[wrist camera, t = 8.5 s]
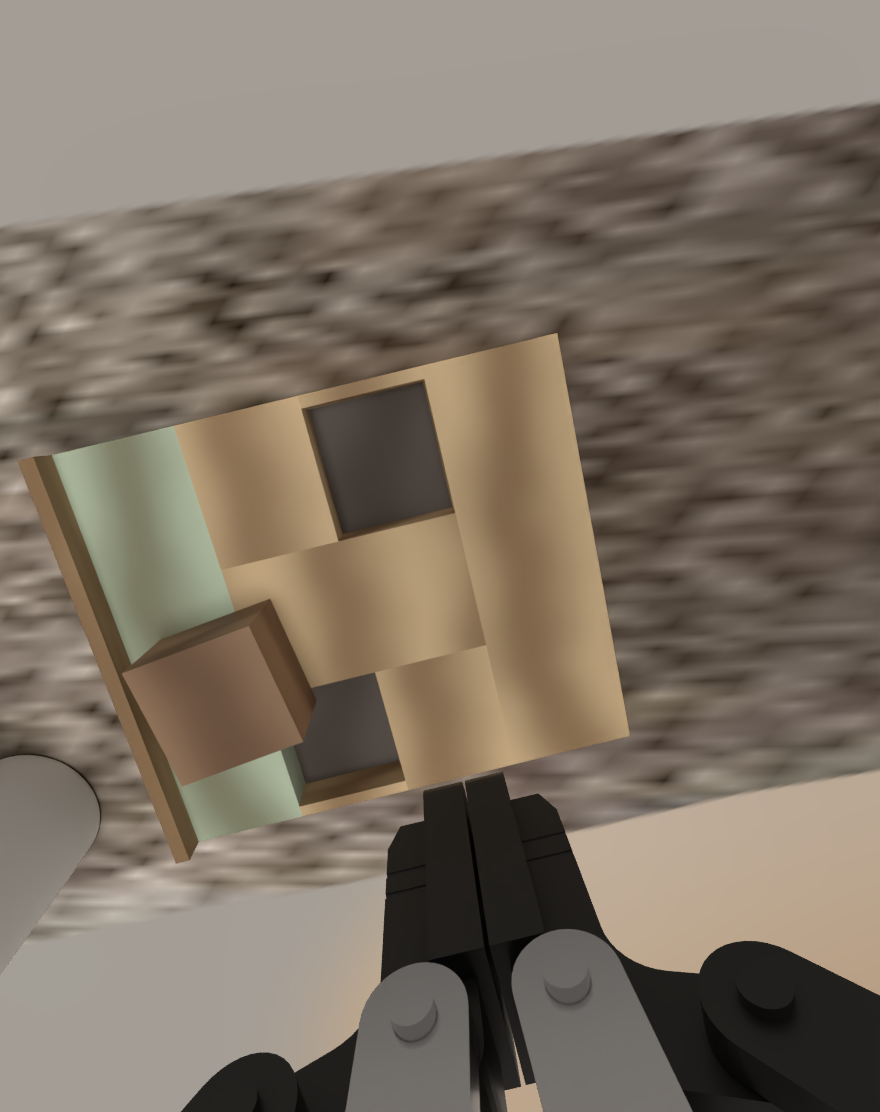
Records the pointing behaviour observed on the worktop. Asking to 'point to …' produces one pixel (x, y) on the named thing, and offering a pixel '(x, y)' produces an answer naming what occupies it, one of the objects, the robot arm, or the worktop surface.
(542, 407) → the board
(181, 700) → the block
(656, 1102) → the robot arm
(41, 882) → the mug
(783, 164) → the worktop surface
